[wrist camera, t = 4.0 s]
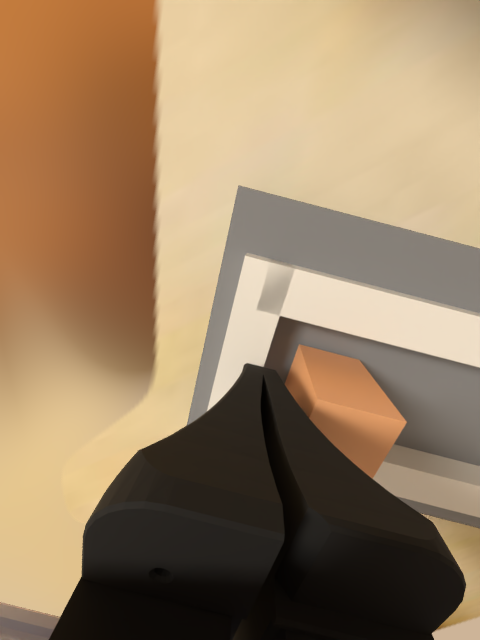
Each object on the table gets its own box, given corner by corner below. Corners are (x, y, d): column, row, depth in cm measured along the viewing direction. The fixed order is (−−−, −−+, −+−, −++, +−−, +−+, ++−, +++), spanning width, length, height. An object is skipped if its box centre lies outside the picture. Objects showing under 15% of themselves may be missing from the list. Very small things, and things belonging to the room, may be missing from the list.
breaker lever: (336, 408, 13) (369, 485, 9) (280, 394, 13) (289, 465, 9) (359, 359, 12) (407, 422, 8) (298, 344, 12) (317, 399, 8)
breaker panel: (517, 506, 18) (585, 579, 14) (191, 422, 18) (173, 474, 14) (699, 313, 13) (881, 347, 9) (242, 193, 13) (234, 177, 9)
